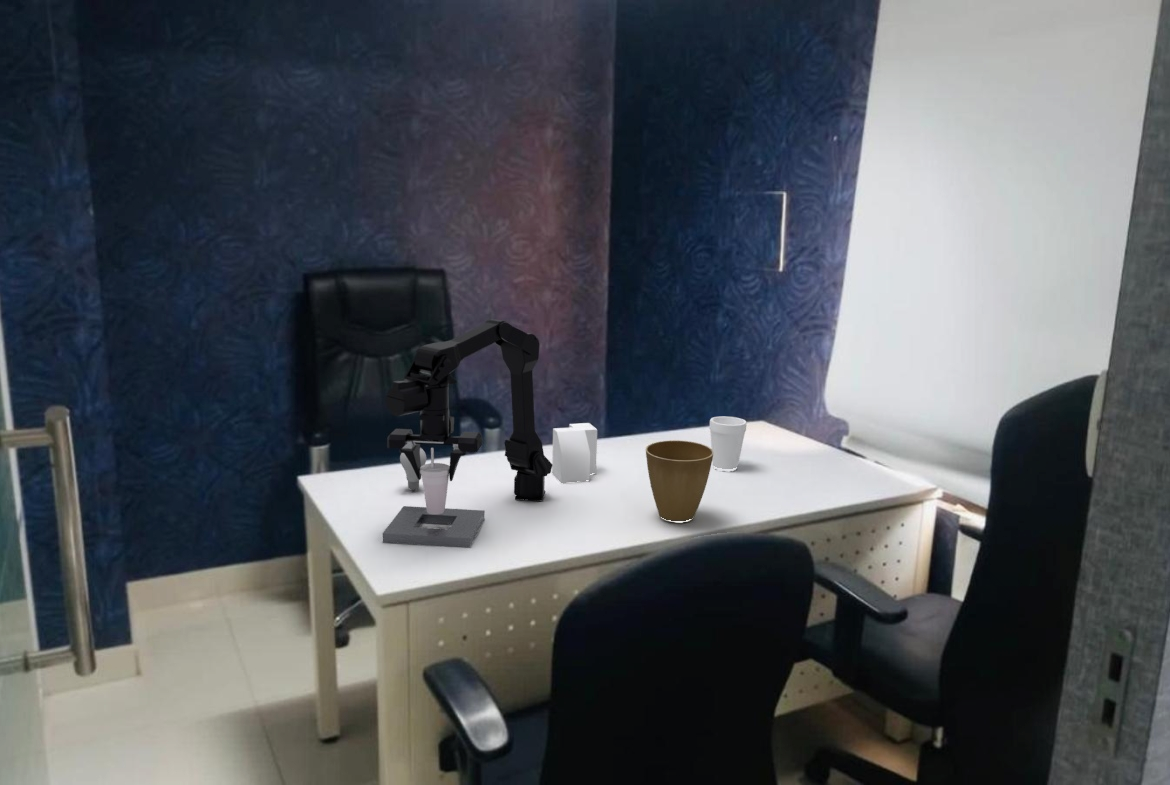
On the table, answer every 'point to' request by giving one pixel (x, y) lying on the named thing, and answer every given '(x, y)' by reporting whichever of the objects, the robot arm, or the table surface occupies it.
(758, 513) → the table surface
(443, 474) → the smoothie
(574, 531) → the table surface
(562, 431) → the white block
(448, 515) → the square plate with hole
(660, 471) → the plant pot
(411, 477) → the lightbulb
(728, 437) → the foam cup
